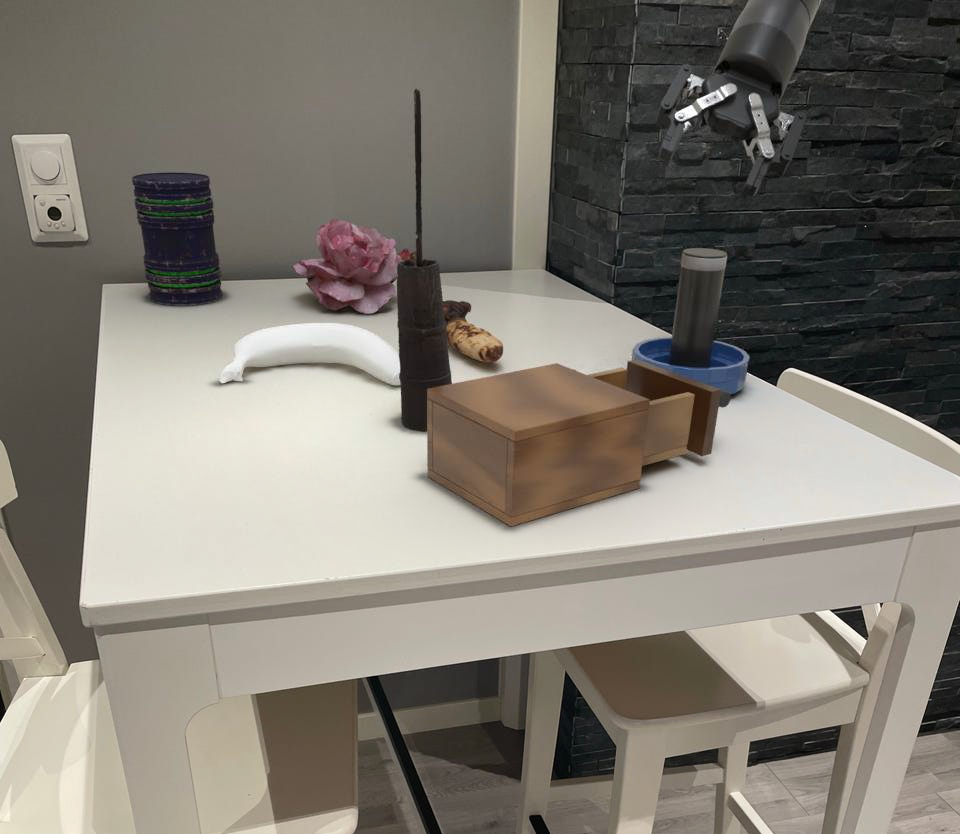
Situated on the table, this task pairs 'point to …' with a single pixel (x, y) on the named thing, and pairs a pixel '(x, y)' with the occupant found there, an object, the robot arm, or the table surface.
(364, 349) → the banana
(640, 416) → the cabinet
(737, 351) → the bowl
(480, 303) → the table surface
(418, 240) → the butter churn
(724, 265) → the pepper mill
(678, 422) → the drawer
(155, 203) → the storage jar
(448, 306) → the tan mottled elongated piece
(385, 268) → the flower
